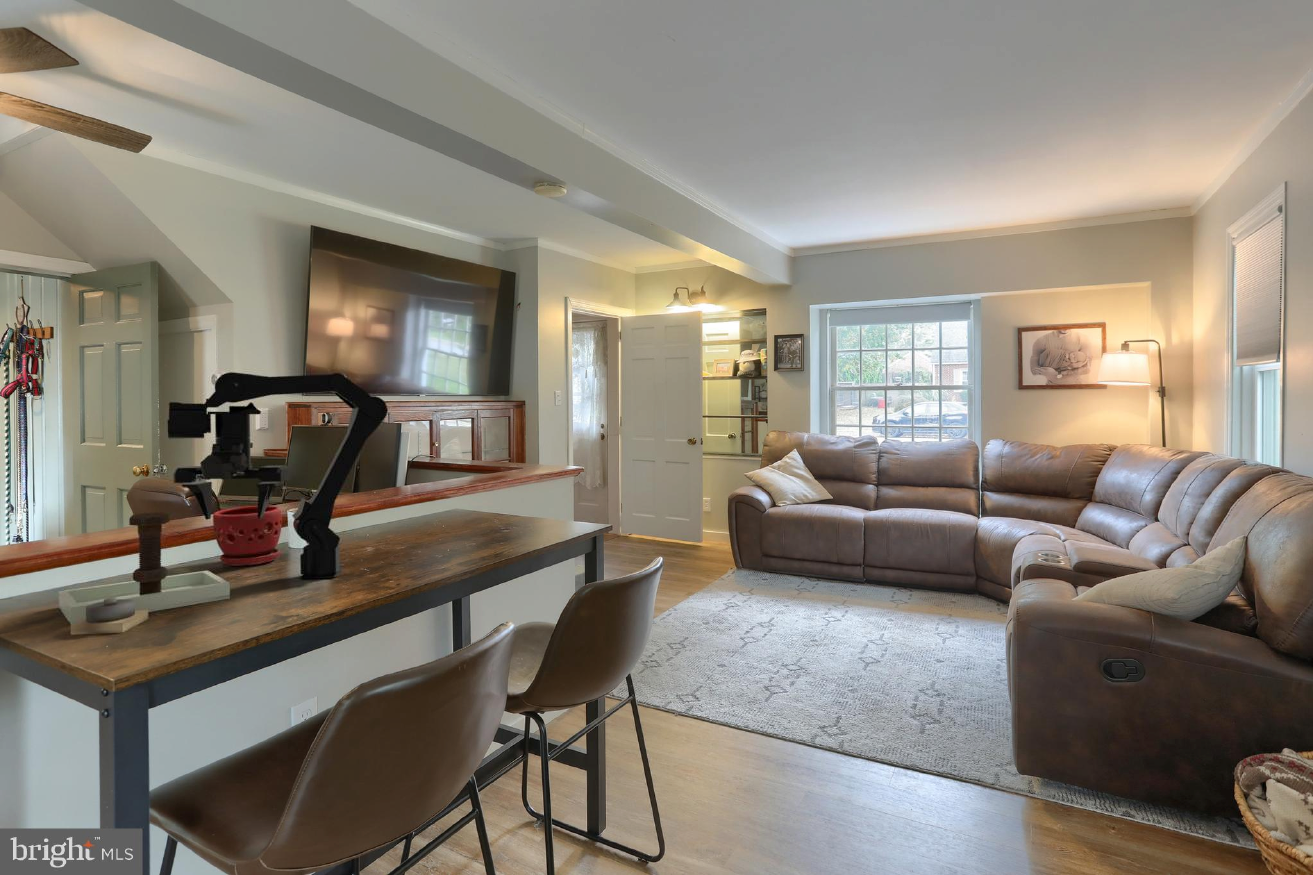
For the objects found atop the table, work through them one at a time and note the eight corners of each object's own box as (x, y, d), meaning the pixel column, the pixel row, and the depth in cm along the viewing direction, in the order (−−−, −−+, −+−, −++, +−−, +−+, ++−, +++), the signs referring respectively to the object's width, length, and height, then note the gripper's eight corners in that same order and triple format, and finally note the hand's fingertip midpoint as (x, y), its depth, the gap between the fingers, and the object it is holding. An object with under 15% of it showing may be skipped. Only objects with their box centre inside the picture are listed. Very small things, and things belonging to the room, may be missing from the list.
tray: (207, 584, 134) (207, 570, 134) (229, 598, 125) (229, 582, 125) (59, 607, 118) (58, 591, 118) (71, 625, 109) (70, 607, 109)
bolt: (133, 605, 118) (133, 517, 117) (126, 599, 121) (125, 514, 120) (174, 598, 122) (173, 514, 122) (166, 593, 125) (165, 511, 125)
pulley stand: (148, 618, 112) (147, 592, 112) (122, 632, 105) (122, 604, 105) (99, 620, 111) (99, 594, 111) (70, 634, 104) (70, 606, 104)
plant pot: (238, 555, 162) (237, 504, 161) (293, 556, 161) (293, 505, 161) (199, 568, 149) (198, 512, 148) (259, 569, 148) (258, 513, 148)
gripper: (156, 439, 124) (158, 526, 124) (269, 439, 127) (270, 524, 127) (187, 437, 135) (189, 517, 135) (290, 437, 138) (291, 515, 138)
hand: (234, 518), depth 134 cm, fingers open, 9 cm apart
